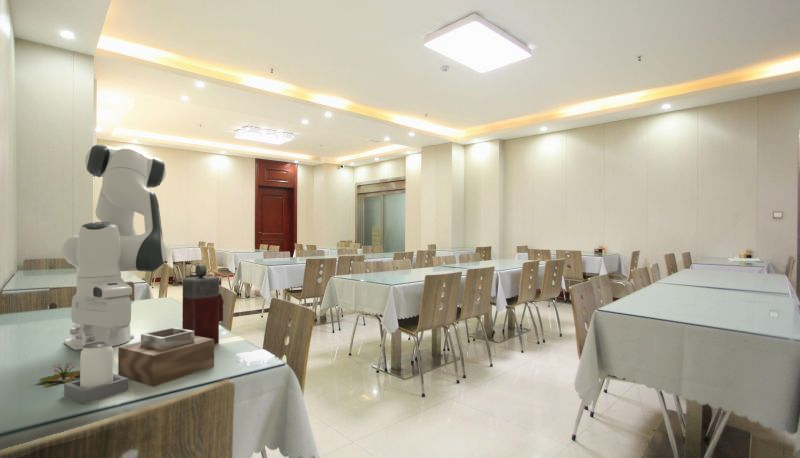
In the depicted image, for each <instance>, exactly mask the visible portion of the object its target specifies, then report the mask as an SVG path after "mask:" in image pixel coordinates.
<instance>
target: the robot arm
mask: <svg viewBox="0 0 800 458" xmlns="http://www.w3.org/2000/svg"><path fill="white" fill-rule="evenodd" d="M84 161H85V166H86V170H87V172H88V173H89V174H90V175H93V176H94V177H96V178H102V180H101V187H100V191H99V196H98V199H97V203H96V207H95V211H94V214H95V217H96V218H97V219H98V220H99V221H96V222H88V223H84V224H82V225H81V226H80V227H79V231H78V234H77V235H72V236H69V237H68V238H66V240H64V243H63V244H62V248H61V252H62V256H63V258H64V260H65V262H67V263H68V264H70V265H72V266H73V267H74V268H76V270H77V274H76V291H75V294H74V295H73V296H72V300H71V308H70V309H71V311H70V319H71V321H72V323H74V325H73V326H72V327H71V328H70V330H69V333H70V335H71V336H72V337H69V338H67V339H64V340H63V343H64V344H65V345H66V346H68V347H69V348H71V349H72V350H74V351H77V350H83V346H84V345H86V344H90V343H95V342H105V346H108V347H111V346H112V347H114V346H119V345H122V344H125V343H129V342H130V340H131V339H133V338H135V335H134V334H133V333H131V320H132V300H131V297H130V296H132V294H133V287H132V286H131V285H129V284H128V283H127V282H125V280H124V279H123V278H122V272H136V271H137V272H155V271H157V270H158V269H159V268H161V267H162V266H163V265H164V264H165V263H166V262H165V261H166V260H167V248H166V245H165V242H164V240H163V239H164V238H163V237H164V236H163V231H162V230H163V229H162V221H161V213H160V205H159V200H158V198H157V194H156V193H155V191H152V190H150V189H149V188H151V189H152V188H153V189H154V188H157V187H159V186H160V185H161V183H162V182H163V181H164V180H165V178H166V174H167V171H166V164H165V163H164V161H163V160H162V159H161V158H158V157H155V156H151V155H147V154H145V153H142V152H141V151H140V150H137V149H136V148H132V147H131V148H130V147H122V148H119V147H113V146H108V145H107V144H94V145H93V146H92V147H91V148H90V149H89V150H88V151H87V153H86V155H85V159H84ZM135 213H137V214H140V215H142V216H143V221H144V222H143V223H144V231H145V232H144V233H142V234H139V235H138V234H137V232H136V230H135V228H134V217H135Z"/></svg>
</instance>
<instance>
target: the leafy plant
mask: <svg viewBox="0 0 800 458" xmlns="http://www.w3.org/2000/svg"><path fill="white" fill-rule="evenodd" d="M61 365H62V366H64V365H63V362H62V363H61ZM61 365H60V364H59V363H58V364H57V366H56V365H53V366H52V367H53V368H54V373H55V374H53V375H49V376H45V377H41V378H39V380H40V381H39V382H38V383H36V385H40V384H43V383H45V388H47V387H50V386H53V385H56V384H61V383H64V384H66V383H69V382H73V381H76V379H78V380H80V369H79V370H73V371H72V369H74V367H75V366H73V363H72V362H70V363H69V362H67V363H66V365H65V366H64V367H63V368H62V366H61ZM70 366H72V367H71V368H70ZM69 368H70V369H69ZM58 369H59V370H58ZM66 378H67V379H66ZM60 379H61V380H60ZM54 382H55V383H54ZM56 382H57V383H56Z"/></svg>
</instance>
